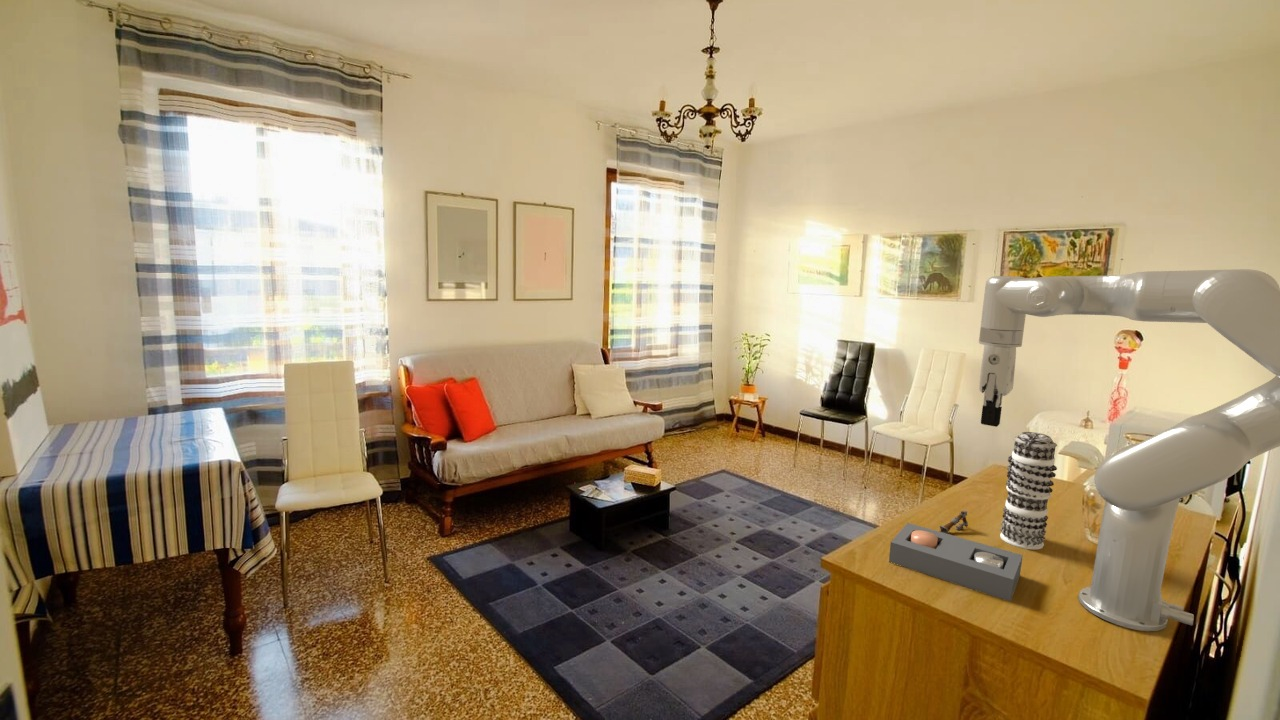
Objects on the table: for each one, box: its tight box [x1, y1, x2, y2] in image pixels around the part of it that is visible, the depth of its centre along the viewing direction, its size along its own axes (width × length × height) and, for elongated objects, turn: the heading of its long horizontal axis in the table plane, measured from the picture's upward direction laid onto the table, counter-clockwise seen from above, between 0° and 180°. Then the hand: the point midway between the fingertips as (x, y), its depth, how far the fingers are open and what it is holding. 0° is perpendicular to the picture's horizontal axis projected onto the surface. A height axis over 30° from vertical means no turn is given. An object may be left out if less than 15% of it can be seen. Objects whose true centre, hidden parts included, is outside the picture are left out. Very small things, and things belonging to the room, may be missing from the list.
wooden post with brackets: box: [939, 510, 969, 535], centre depth 139 cm, size 2×8×4 cm, turn 114°
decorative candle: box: [999, 431, 1058, 551], centre depth 132 cm, size 9×9×25 cm
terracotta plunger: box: [911, 530, 938, 549], centre depth 125 cm, size 5×5×4 cm
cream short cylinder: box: [974, 552, 1003, 569], centre depth 118 cm, size 5×5×4 cm
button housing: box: [888, 522, 1024, 602], centre depth 121 cm, size 22×12×4 cm, turn 50°
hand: (989, 424), depth 123 cm, fingers closed
